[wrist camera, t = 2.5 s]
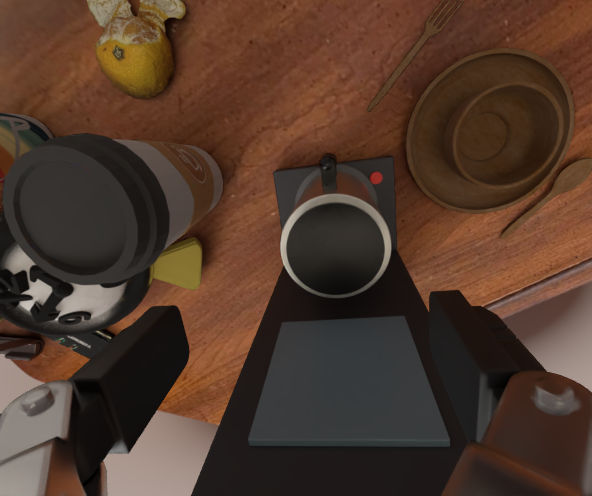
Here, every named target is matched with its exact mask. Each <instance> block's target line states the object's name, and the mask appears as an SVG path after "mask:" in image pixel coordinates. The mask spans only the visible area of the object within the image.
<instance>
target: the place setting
mask: <svg viewBox="0 0 592 496" xmlns="http://www.w3.org/2000/svg"><path fill="white" fill-rule="evenodd" d="M444 1H445V0H442V1H441V2H440V4H439V5H438V6H437V7H436V9H435V10H434V11H433V13H432V14H431V15H430V17H429V18H428V20H427V21H426V24H425V32H424V34H423V35H422V36H421V38H420V39H419V40H418V42H417V43H416V44H415V46H414V47H413V48H412V49H411V51H410V52H409V53H408V55H407V56H406V57H405V58H404V60H403V61H402V62H401V64H400V65H399V66H398V67H397V69H396V70H395V71H394V73H393V74H392V75H391V76H390V78H389V79H388V80H387V82H386V83H385V84H384V86H383V87H382V88H381V90H380V91H379V92H378V94H377V95H376V96H375V98H374V99H373V101H372V102H371V104H370V105H369V107H368V109H367V111H369V112H370V111H371V110H372V109H373V108H374V107H375V106H376V104H377V103H378V102H379V101H380V100H381V99H382V97H383V96H384V95H385V94H386V92H387V91H388V90H389V88H390V87H391V86H392V85H393V83H394V82H395V81H396V79H397V78H398V77H399V76H400V74H401V73H402V72H403V70H404V69H405V68H406V66H407V65H408V64H409V63H410V61H411V60H412V59H413V57H414V56H415V55H416V53H417V52H418V51H419V49H420V48H421V47H422V45H423V44H424V43H425V42H426V40H427V39H428V38H429V37H430V36H433V35H436V34H438V33H439V32H440V31H441V30H442V29H443V27H444V26H445V25H446V24H447V22H448V21H449V20H450V19H451V17H452V16H453V15H454V14H455V12H456V11H457V10H458V8H459V7H460V6H461V4H462V3H463V2H464V0H462V1H461V2H460V4H459V5H458V6H457V7H456V9H455V10H454V11H453V12H452V14H451V15H450V16H449V17H448V19H447V20H446V21H445V22H444V24H443V25H442V26H441V27H440V28H439V29H438V26H439V24H440V23H441V22H442V20H443V19H444V18H445V17H446V15H447V14H448V13H449V12H450V10H451V9H452V8H453V6H454V5H455V4H456V2H457V1H458V0H455V2H454V3H453V4H452V5H451V6H450V8H449V9H448V10H447V12H446V13H445V14H444V15H443V17H442V18H441V19H440V20H439V22H438V23H437V24H436V25H435V26H434V23H435V21H436V20H437V19H438V17H439V16H440V15H441V13H442V12H443V11H444V10H445V8H446V7H447V6H448V4H449V3H450V2H451V0H449V1H448V2H447V3H446V4H445V6H444V7H443V8H442V10H441V11H440V12H439V13H438V15H437V16H436V17H435V19H434V20H433V21H432V22H430V20H431V18H432V17H433V15H434V14H435V13H436V11H437V10H438V9H439V7H440V6H441V5H442V4H443V2H444ZM574 121H575V111H574V102H573V98H572V94H571V91H570V89H569V87H568V84H567V82H566V81H565V79H564V78H563V76H562V74H561V73H560V72H559V71H558V70H557V69H556V68H555V67H554V66H553V65H552V64H551V63H550V62H548V61H547V60H546V59H544V58H542V57H540V56H539V55H537V54H534V53H531V52H529V51H526V50H521V49H515V48H497V49H489V50H485V51H481V52H477V53H475V54H472V55H470V56H467V57H465V58H463V59H461V60H459V61H458V62H456V63H454V64H453V65H451V66H450V67H448V68H447V69H446V70H444V71H443V72H442V73H441V74H440V75H439V76H437V77H436V78H435V79H434V80H433V81H432V83H431V84H430V85H429V86H428V87H427V88H426V90H425V91H424V92H423V94H422V95H421V97H420V98H419V100H418V102H417V104H416V105H415V107H414V110H413V112H412V114H411V117H410V120H409V123H408V127H407V133H406V147H405V148H406V158H407V162H408V166H409V169H410V171H411V174H412V176H413V178H414V180H415V182H416V183H417V185H418V186H419V187H420V189H421V190H422V191H423V192H424V193H425V194H426V195H427V196H428V197H429V198H430V199H432V200H433V201H435V202H436V203H438V204H439V205H441V206H443V207H445V208H448V209H451V210H454V211H457V212H462V213H471V214H479V213H489V212H495V211H499V210H502V209H506V208H508V207H510V206H513V205H515V204H517V203H519V202H521V201H523V200H525V199H526V198H528V197H529V196H531V195H532V194H534V193H535V192H536V191H537V190H538V189H540V188H541V187H542V186H543V185H544V184H545V183H546V182H547V181H548V180H549V179H550V178H551V177H552V175H553V174H554V173H555V171H556V170H557V169H558V167H559V166H560V164H561V162H562V161H563V159H564V157H565V155H566V153H567V150H568V148H569V145H570V142H571V139H572V135H573V130H574ZM591 171H592V158H583V159H580V160H578V161H575V162H573V163H572V164H570V165H568V166H567V167H566V168H564V169H563V170H562V171H561V172H560V174H559V175H558V176H557V178H556V179H555V181H554V184H553V187H552V189H551V191H550V192H549V193H548V194H547V195H546V196H545V197H544V198H543V199H542V200H541V201H539V202H538V203H537V204H536V205H535V206H533V207H532V208H531V209H530V210H528V211H527V212H526V213H525V214H524V215H522V216H521V217H520V218H519V219H517V220H516V221H515V222H514V223H513V224H512V225H510V226H509V227H508V228H507V229H506V230H505V231H504V232H503V234H502V235H501V236H500V238H501V239H503V238H505V237H507V236H508V235H510V234H511V233H513V232H514V231H515V230H516V229H518V228H519V227H520V226H521V225H522V224H523V223H525V222H526V221H527V220H528V219H529V218H530V217H531V216H532V215H534V214H535V213H536V212H537V211H538V210H539V209H540V208H541V207H542V206H544V205H545V204H546V203H547V202H548V201H550V200H551V199H552V198H553V197H555V196H556V195H558V194H560V193H563V192H566V191H569V190H571V189H574V188H575V187H577V186H579V185H580V184H581V183H583V182H584V181H585V180H586V178H587V177H588V176H589V174H590V172H591Z"/></svg>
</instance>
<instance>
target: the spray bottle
mask: <svg viewBox="0 0 592 496" xmlns="http://www.w3.org/2000/svg"><path fill="white" fill-rule="evenodd" d="M51 138H53V136H52V134H51V133H50V131H49V130H48V129H47V128H46V126H45V125H43V124H42V123H41V122H40V121H38V120H37V119H35V118H33V117H30V116H26V115H21V114H10V113H0V183H2V182H4V180H5V178H6V176H7V174H8V171H9V169H10V167H11V166H12V164H13V163H14V162H15V161H16V160H17V159H18V158H19V157H20V156H21V155H22V154H24V153H26V152H28V151H30V150H32V149H33V148H34V147H35V146H37V145H39V144H41V143H43V142H45V141H47V140H49V139H51Z"/></svg>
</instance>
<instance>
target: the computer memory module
mask: <svg viewBox="0 0 592 496" xmlns="http://www.w3.org/2000/svg"><path fill="white" fill-rule="evenodd" d="M43 335H44V336H46V337H48V338H50V339H52V340H54V341H57V340H60V339H61V340H60V341H61V342H59V343H60V344H62V345H64V346H66V347H70V346H73V348H72V349H71V350H73V351H75V352H77V353H79V354H81V355H83V356H85V357H87V358H89V359H91V358H92V357H93V356H95V355H96V354H97V353H98V352H101V349H102V348H103V347H104V346H105V345H107V344H108V343H110V341H111V340H112V339H113V338H114V337H113V336H111V335H109V334H107V333H105V332H103V331H102V330H99V331H96V332H92V333H88V334H82V335H75V336H52V335H45V334H43Z"/></svg>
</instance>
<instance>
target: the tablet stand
mask: <svg viewBox="0 0 592 496" xmlns="http://www.w3.org/2000/svg"><path fill="white" fill-rule="evenodd" d="M43 347H44V344H43V342H42V341H41V340H36V339H32V338H26V339H23V338H12V337H0V354H6V355H5V357H6V358H7V359H18V360H32V359H33V358H35V357H37V356H38V355H39V354H40V353H41V352H42V350H43Z"/></svg>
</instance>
